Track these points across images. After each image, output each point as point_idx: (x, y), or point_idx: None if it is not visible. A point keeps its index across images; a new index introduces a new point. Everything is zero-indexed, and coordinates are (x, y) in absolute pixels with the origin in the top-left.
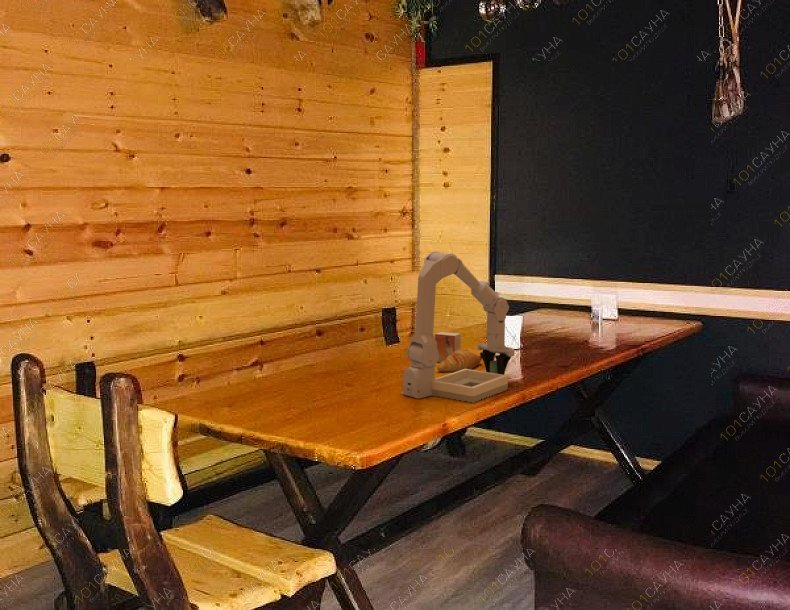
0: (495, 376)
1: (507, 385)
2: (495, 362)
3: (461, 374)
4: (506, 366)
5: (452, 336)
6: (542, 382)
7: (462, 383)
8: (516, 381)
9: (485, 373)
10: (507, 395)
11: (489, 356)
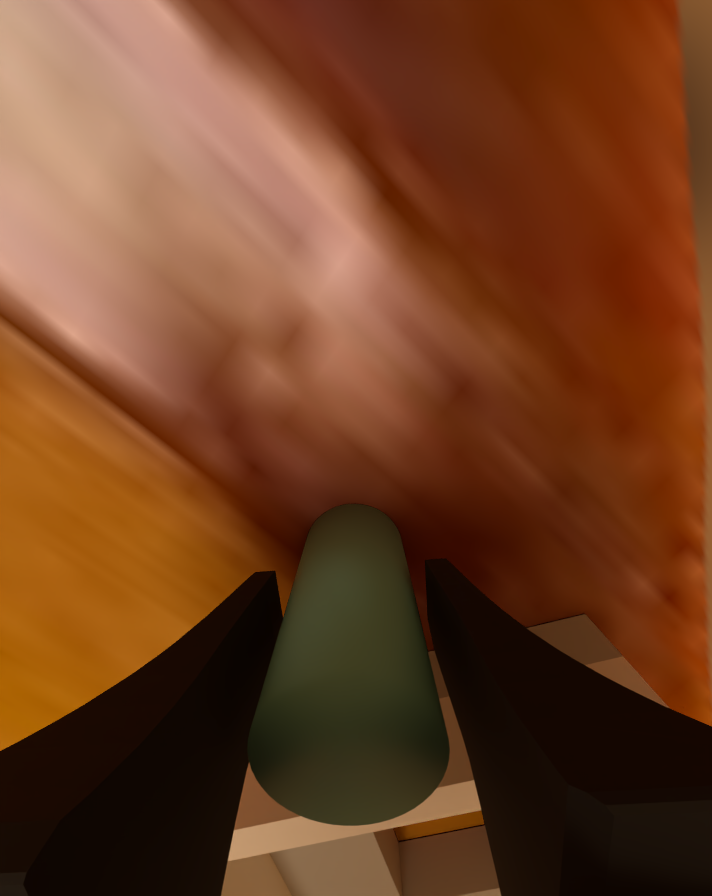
0: None
1: (610, 646)
2: (400, 790)
3: (240, 877)
4: (517, 623)
5: None
6: (661, 151)
7: (372, 883)
8: (438, 363)
9: (427, 814)
10: (689, 712)
11: (181, 883)
